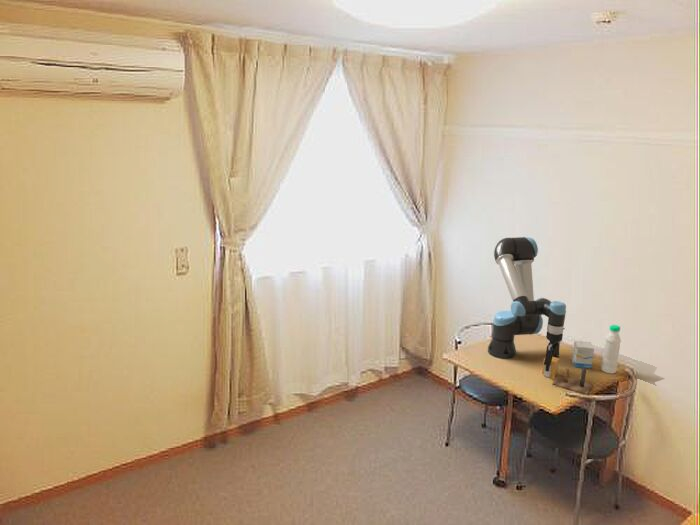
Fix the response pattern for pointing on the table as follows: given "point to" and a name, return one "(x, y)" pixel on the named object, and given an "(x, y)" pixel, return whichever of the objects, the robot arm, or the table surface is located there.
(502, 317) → the robot arm
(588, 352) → the ink box
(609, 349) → the water bottle
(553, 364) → the orange rectangular block
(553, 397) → the table surface
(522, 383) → the table surface
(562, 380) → the pigtail board
